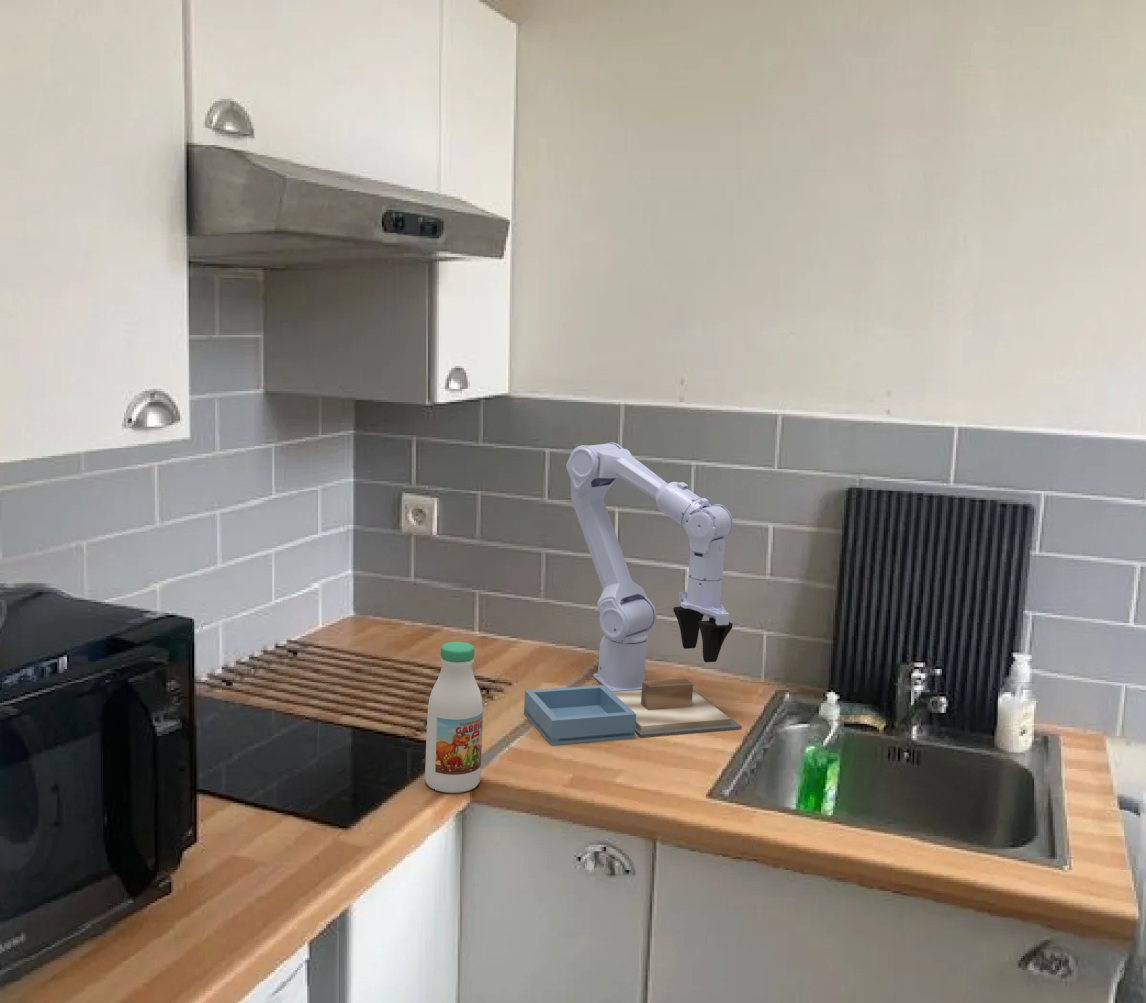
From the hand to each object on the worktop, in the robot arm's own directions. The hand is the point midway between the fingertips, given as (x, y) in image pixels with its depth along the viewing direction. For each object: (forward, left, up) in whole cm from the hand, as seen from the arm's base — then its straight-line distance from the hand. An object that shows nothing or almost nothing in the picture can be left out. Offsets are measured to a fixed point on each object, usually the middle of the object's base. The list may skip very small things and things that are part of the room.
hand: (699, 654), depth 193 cm
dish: (+4, -23, -9) cm, 25 cm away
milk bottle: (+21, -48, -10) cm, 53 cm away
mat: (+2, -6, -9) cm, 11 cm away
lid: (+2, -7, -9) cm, 11 cm away
